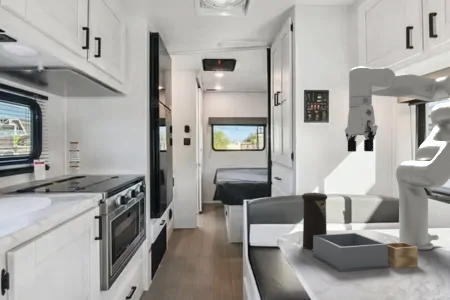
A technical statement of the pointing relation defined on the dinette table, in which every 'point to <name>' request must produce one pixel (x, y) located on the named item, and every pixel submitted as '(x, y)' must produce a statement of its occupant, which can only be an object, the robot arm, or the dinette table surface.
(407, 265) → the wooden crate
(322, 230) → the container
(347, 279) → the dinette table surface
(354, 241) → the grey crate
